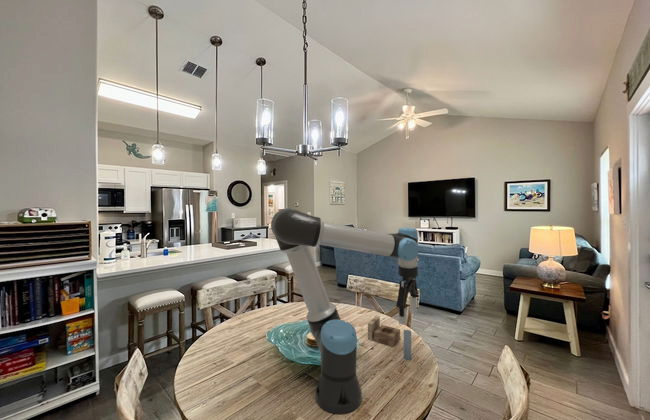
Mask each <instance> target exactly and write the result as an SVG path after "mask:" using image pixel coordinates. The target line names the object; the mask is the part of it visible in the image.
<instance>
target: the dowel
mask: <svg viewBox="0 0 650 420" xmlns="http://www.w3.org/2000/svg"><path fill="white" fill-rule="evenodd" d="M403 359H404V360H405V361H411V360H412V331H411V330H409V329H404V330H403Z"/></svg>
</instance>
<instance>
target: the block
mask: <svg viewBox="0 0 650 420" xmlns="http://www.w3.org/2000/svg"><path fill="white" fill-rule="evenodd" d="M400 340H401V329H399V328H396V327H392V326H389V325H384V324H380V327H379V328H378V329H377V330H375V331H374V339H373V342H374V343H378V344H381V345H384V346H387V347H390V348H394V347H395V346H396V344H398V342H399V341H400Z"/></svg>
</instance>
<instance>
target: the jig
mask: <svg viewBox="0 0 650 420" xmlns="http://www.w3.org/2000/svg"><path fill="white" fill-rule="evenodd" d="M380 321H381V319H380V317H378V316H374V318H372V319H371V320H370V321H368V322H367V340H368V341H370V342H371V341H372V342H373V341H374V331H375V330H377V329H378V328H379V327H380V326H381V324H380V323H381V322H380Z"/></svg>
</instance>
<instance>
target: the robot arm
mask: <svg viewBox="0 0 650 420" xmlns="http://www.w3.org/2000/svg"><path fill="white" fill-rule="evenodd" d="M270 228H271V232H272V234H273V235H274V237H275V240H276V243H277V245H278V247H279V250H280V251H281V252H283V253H285V254H286V256H287V259H288V261H289V264H290V266H291V269H292V272H293V274H294V277H295V279H296V282H297V284H298V288H299V290H300V293H301V295H302V298H303V300H304V304H305V305H306V308H307V311H308V312H307V314H306V319H307V322H308V326H309V329H310V333H311V336H313V339H314V341H315V343H316V345H317V347H318V350H319V352H320V375H319V378H318V381H317V383H316V387H315V400H316V404H317V405H318V407H320V408H321V409H323V410H324V411H326V412H328V413H331V414H336V415H337V414H338V415H339V414H340V415H344V414H349V413H351V412H354V411H355V410H357V409H358V408H359V406H360V405H361V403H362V394H363V393H362V387H361V386H360V382H359V379H358V378H359V377H358V376H357V345H358V338H357V330H356V329H355V327H354V325H353V324H351V322H348V321H346V320H343V319H341V317H340V314H339V312H338V310H337V307H336V304H334V303H332V302H330V299H329V296H328V294H327V291H326V289H325V288H326V287H325V286H324V284H323V280H322V278H321V275H320V273H319V269H318V267H317V264H316V262H315V259H314V256H313V254H312V251H311V249H310V247H312V248H313V247H314V248H315V247H317V246H319V245H320V246H328V247H332V248H338V249H343V250H350V251H356V252H362V253H367V254H373V255H380V256H385V257H390V258H395V259H397V263H398V265H399V266H398V276H400V277H402V280H400V281H399V287H398V294H397V301H396V305H395V306H396V308H398V325H403V326H407V307H406V305H407V301H408V296H409V295H410V296H409V313H411V314H416V315H417V309H418V308H417V305H418V304H417V302H418V301H417V298H419V296H420V295H419V290H418V284H417V277H418V276H419V267H418V266H419V265H418V264H419V263H418V262H419V261H420V259H419V257H418V256H419V252H420V249H419V248H420V247H419V235H418V229H417V228H413V227H399V228H398V232H397V233H383V232H377V231H373V230H368V229H363V228H357V227H354V226H348V225H343V224H338V223H334V222H328V221H323V219H322V218H321V217H318V216H314V215H310V214H309V213H304V212H302V211H300V210H298V209H292V208H284V209H281V210H279V211H277V212H276V213H275V214H274V215H273V216H272V219H271V221H270Z"/></svg>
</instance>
